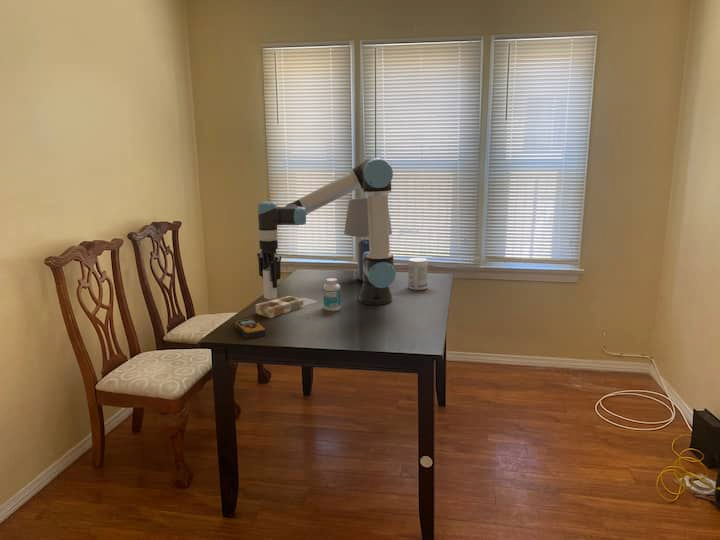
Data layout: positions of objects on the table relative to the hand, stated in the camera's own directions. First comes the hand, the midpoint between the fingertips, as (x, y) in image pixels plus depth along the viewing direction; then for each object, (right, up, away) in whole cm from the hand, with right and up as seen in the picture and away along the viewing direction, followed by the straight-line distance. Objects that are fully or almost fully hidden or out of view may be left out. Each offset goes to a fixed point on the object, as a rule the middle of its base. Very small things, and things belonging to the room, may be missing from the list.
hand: (270, 293), depth 220 cm
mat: (+12, -5, +17) cm, 22 cm away
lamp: (+42, +5, +59) cm, 73 cm away
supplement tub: (+67, +1, +42) cm, 79 cm away
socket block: (+3, -8, +5) cm, 10 cm away
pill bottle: (+26, -7, +7) cm, 28 cm away
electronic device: (-4, -14, -20) cm, 24 cm away
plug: (0, -2, 0) cm, 2 cm away
